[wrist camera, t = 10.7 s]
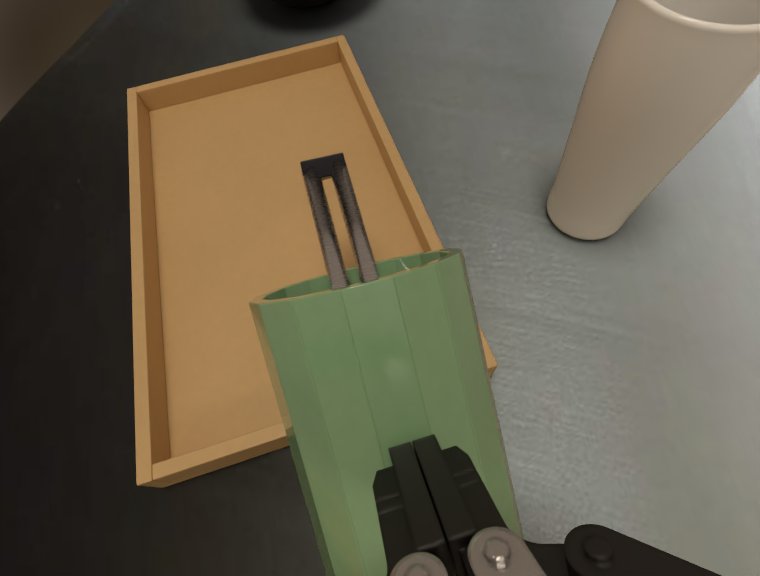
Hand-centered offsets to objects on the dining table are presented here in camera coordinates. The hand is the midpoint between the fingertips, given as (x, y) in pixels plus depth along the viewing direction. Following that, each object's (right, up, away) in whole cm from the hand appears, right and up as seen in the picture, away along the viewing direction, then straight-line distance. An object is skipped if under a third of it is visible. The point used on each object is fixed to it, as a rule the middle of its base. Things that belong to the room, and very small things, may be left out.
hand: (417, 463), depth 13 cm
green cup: (+1, -7, +5) cm, 8 cm away
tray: (-9, +11, +19) cm, 23 cm away
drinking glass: (+13, +11, +17) cm, 24 cm away
